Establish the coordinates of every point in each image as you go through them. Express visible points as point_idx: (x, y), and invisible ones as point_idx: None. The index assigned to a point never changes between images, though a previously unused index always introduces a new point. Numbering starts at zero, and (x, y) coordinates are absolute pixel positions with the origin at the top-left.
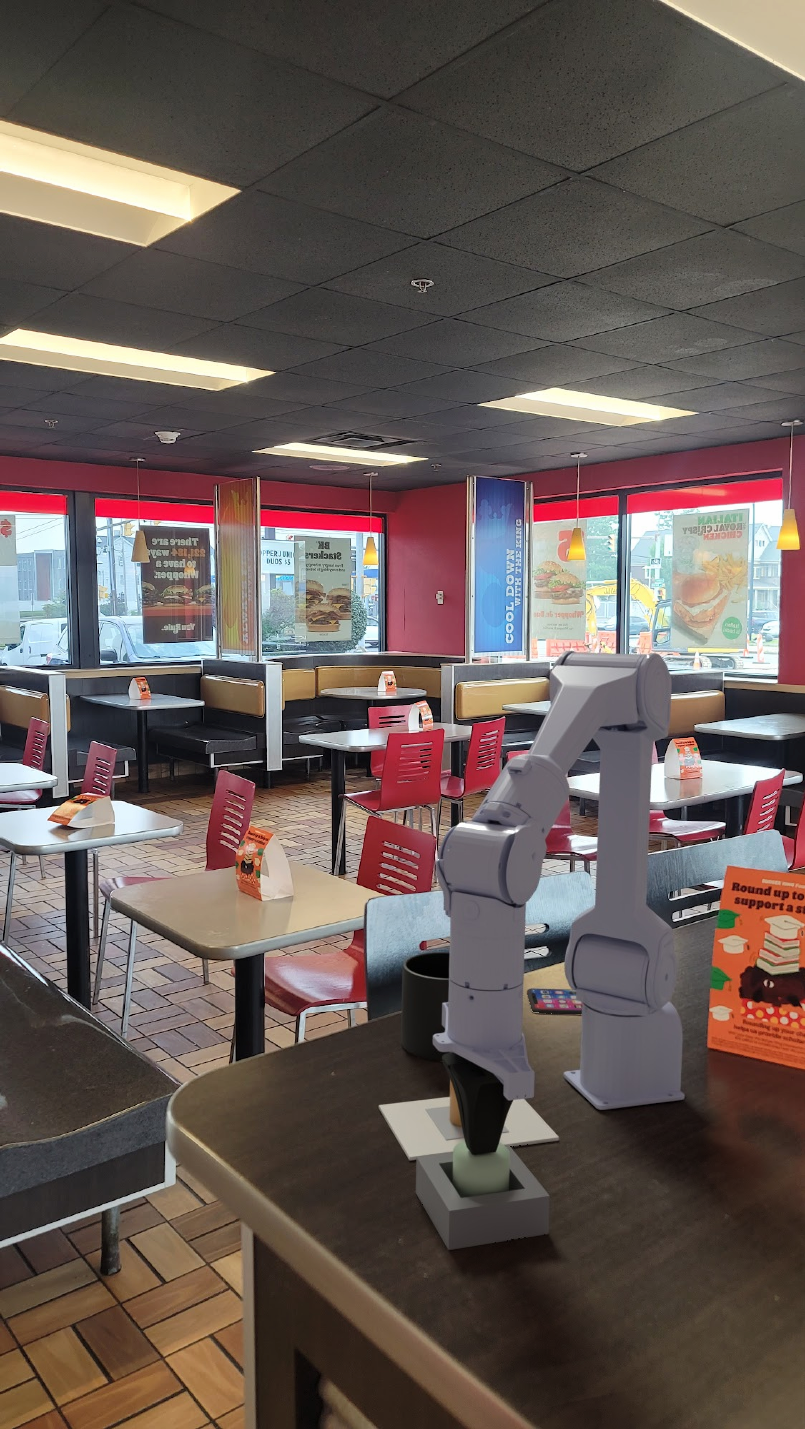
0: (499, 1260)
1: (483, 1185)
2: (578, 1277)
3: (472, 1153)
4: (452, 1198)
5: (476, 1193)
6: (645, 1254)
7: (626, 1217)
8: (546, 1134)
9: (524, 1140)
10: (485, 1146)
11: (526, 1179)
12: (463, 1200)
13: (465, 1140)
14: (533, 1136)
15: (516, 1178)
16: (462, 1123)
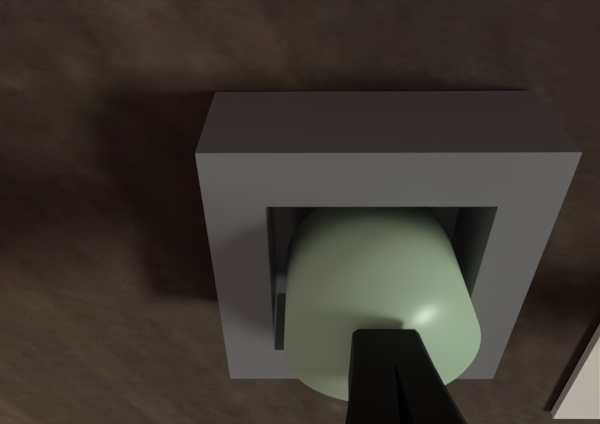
0: (156, 192)
1: (289, 282)
2: (88, 299)
3: (355, 333)
4: (268, 183)
5: (297, 249)
6: (153, 395)
7: (264, 408)
8: (576, 407)
9: (584, 373)
10: (350, 381)
11: None
12: (251, 209)
13: (411, 349)
14: (586, 389)
15: None
16: (431, 405)
